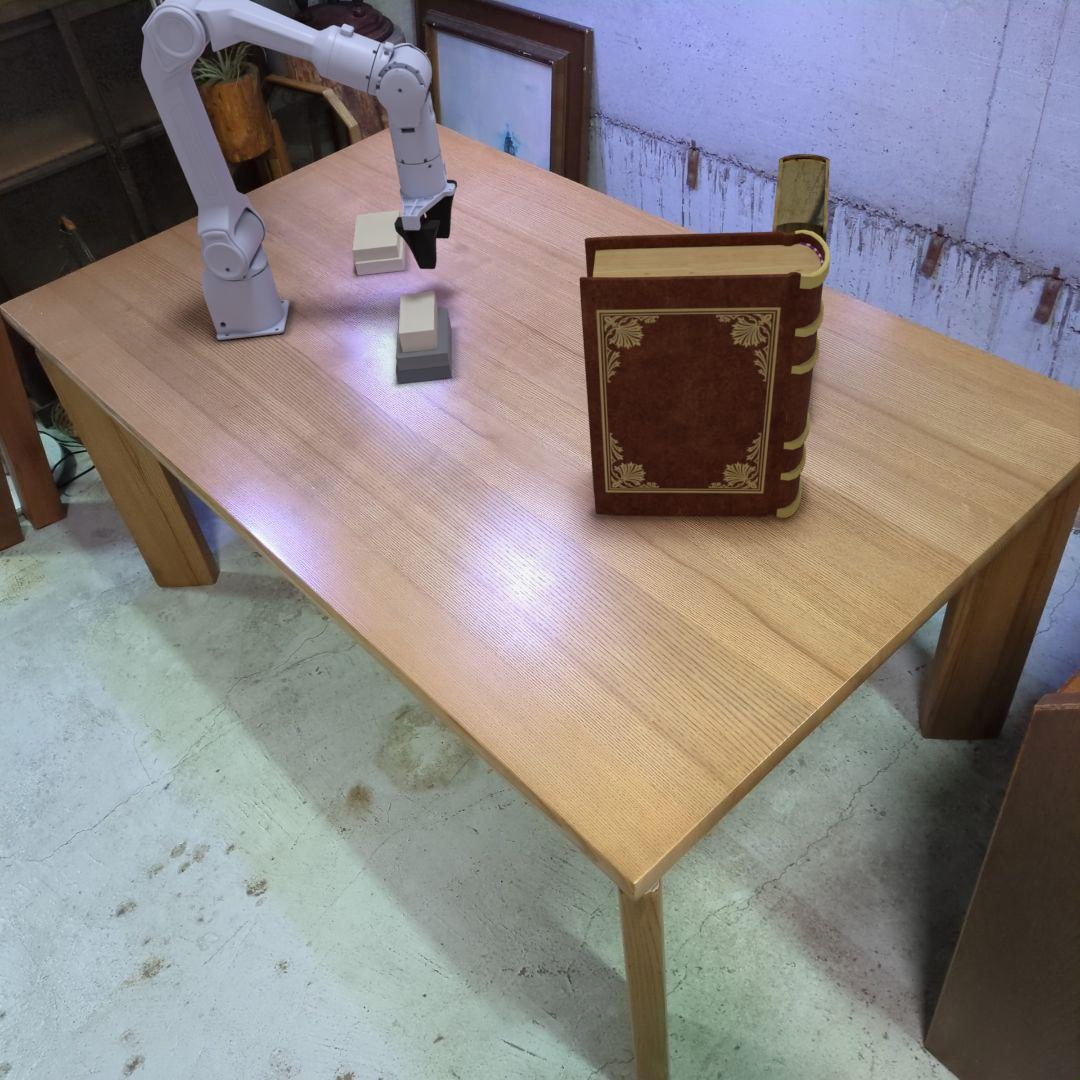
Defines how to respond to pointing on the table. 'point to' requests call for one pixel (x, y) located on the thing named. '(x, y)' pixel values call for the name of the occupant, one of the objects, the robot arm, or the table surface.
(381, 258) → the cream stack
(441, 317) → the grey stack
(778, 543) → the table surface
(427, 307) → the cream rectangular block
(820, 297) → the decorative book
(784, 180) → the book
